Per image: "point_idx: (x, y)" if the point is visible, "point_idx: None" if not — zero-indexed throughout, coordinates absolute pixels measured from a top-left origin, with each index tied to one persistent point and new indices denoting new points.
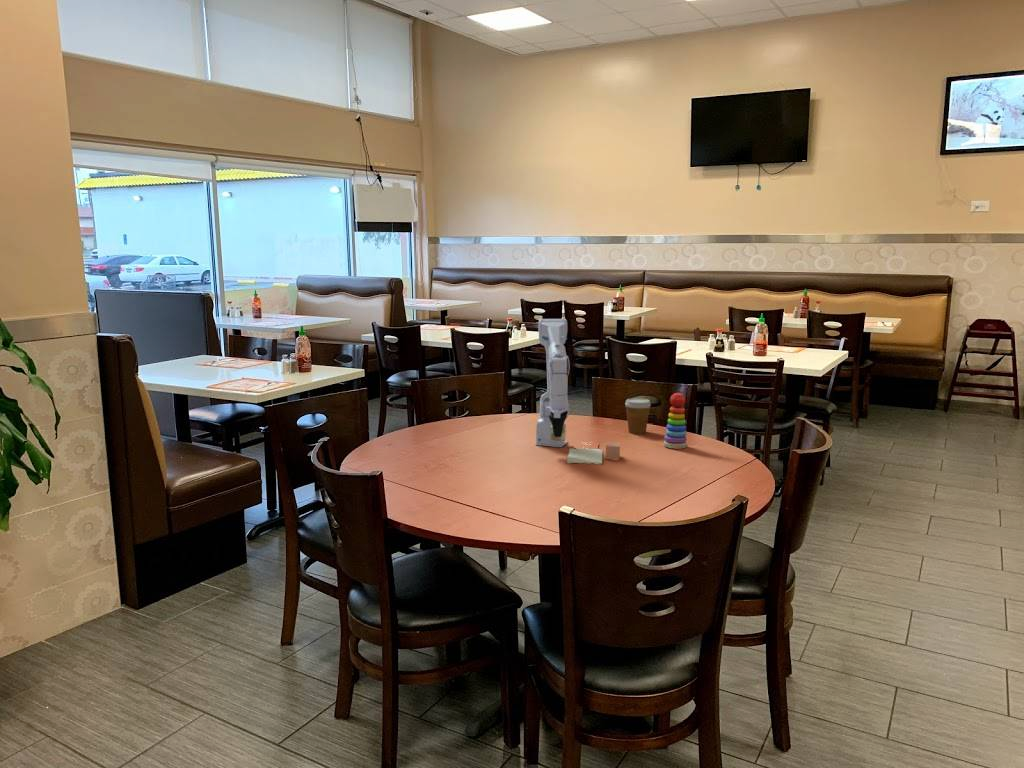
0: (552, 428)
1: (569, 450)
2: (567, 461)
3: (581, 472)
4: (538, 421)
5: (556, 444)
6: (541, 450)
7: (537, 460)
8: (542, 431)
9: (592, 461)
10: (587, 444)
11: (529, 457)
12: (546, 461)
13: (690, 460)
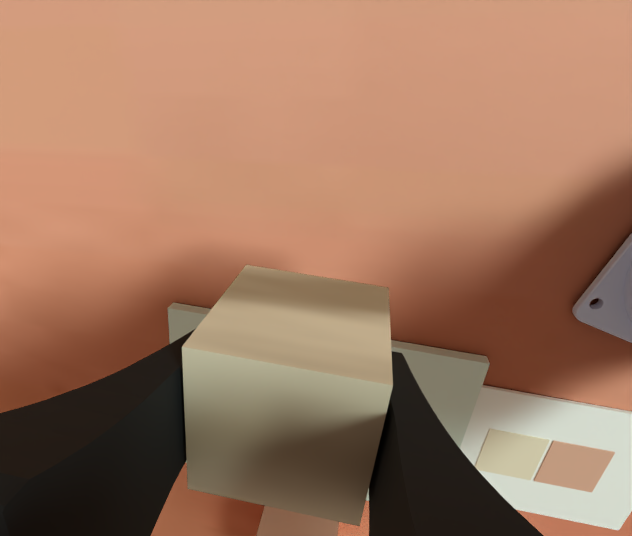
0: (192, 353)
1: (436, 355)
2: (169, 309)
3: (27, 347)
4: None
5: (627, 290)
6: (524, 152)
7: (219, 109)
8: None
9: None
10: (600, 473)
11: (302, 36)
12: (201, 177)
13: None
